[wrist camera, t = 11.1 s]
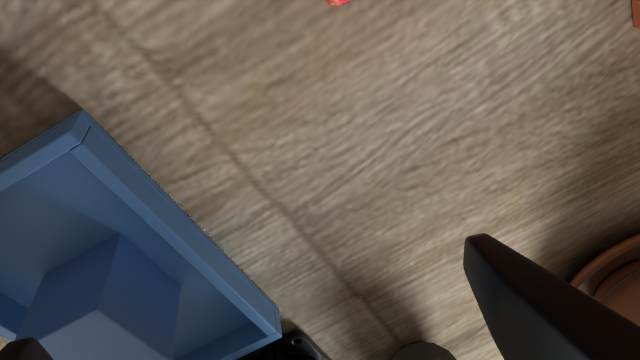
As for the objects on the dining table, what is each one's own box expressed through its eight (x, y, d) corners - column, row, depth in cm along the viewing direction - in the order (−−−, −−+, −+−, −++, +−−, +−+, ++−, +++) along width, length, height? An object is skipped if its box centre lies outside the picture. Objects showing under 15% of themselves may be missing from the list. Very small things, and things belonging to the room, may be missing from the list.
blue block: (181, 285, 23) (173, 363, 20) (111, 322, 24) (90, 403, 20) (119, 232, 21) (96, 309, 17) (43, 274, 21) (5, 358, 18)
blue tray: (279, 308, 26) (282, 337, 25) (137, 379, 28) (132, 410, 26) (82, 107, 18) (68, 131, 16) (-109, 224, 19) (-139, 257, 17)
